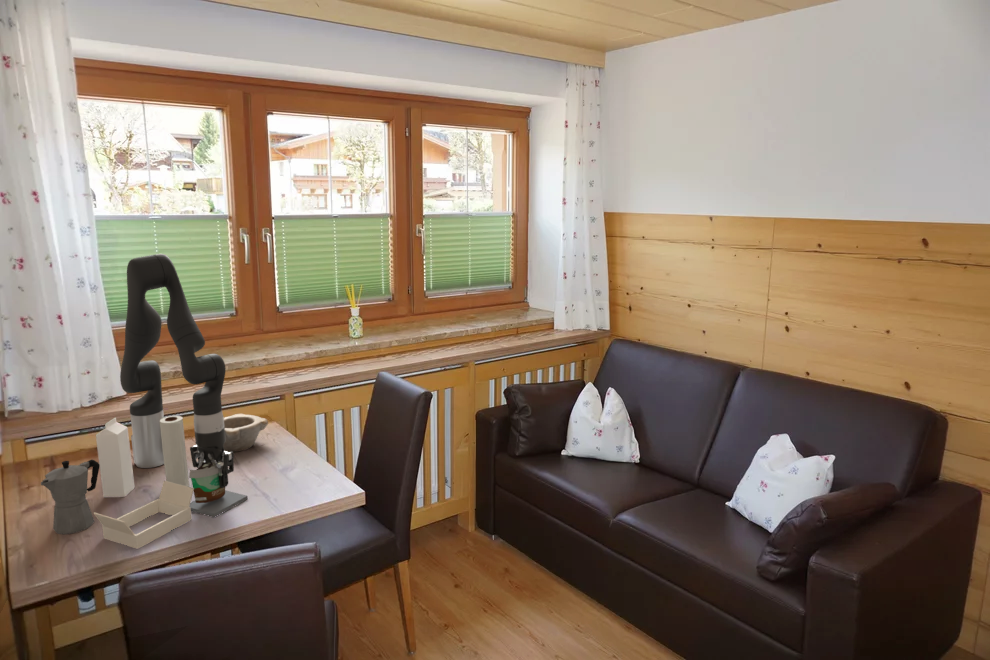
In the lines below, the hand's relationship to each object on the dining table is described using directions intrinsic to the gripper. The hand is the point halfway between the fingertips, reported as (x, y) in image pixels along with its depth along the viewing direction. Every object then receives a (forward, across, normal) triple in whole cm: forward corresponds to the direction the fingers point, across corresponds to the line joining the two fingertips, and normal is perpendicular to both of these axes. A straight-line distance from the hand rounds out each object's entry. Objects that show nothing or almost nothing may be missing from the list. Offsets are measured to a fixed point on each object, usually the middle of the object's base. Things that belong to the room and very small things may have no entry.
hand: (214, 484), depth 184 cm
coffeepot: (+6, -24, -24) cm, 34 cm away
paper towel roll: (+6, -18, +2) cm, 19 cm away
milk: (+6, -31, -6) cm, 32 cm away
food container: (+4, 0, 0) cm, 4 cm away
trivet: (+6, 0, 0) cm, 6 cm away
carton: (+6, -5, -18) cm, 19 cm away
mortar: (+6, -27, +34) cm, 44 cm away
